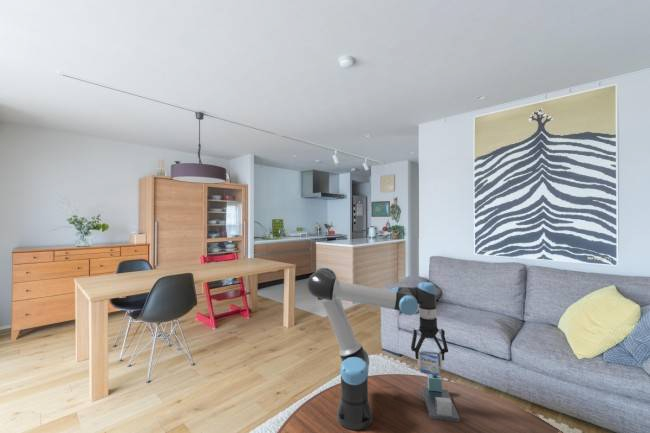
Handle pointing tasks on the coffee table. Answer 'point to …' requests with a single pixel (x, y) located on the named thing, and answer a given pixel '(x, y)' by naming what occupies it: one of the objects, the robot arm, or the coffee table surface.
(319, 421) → the coffee table surface
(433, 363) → the medicine box
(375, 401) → the coffee table surface
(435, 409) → the base
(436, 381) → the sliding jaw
